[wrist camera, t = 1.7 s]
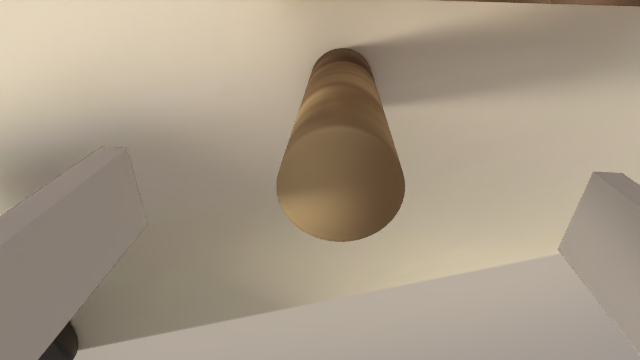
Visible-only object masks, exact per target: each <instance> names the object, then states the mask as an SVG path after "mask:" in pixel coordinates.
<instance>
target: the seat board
mask: <svg viewBox="0 0 640 360" xmlns="http://www.w3.org/2000/svg"><path fill="white" fill-rule="evenodd" d="M442 1H477V2H511V3H546V4H580V5H615V6H640V0H442Z"/></svg>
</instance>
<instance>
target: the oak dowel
mask: <svg viewBox="0 0 640 360" xmlns="http://www.w3.org/2000/svg"><path fill="white" fill-rule="evenodd" d="M404 192H405V181H404V176H403V172H402V168H401V165H400V162H399V159H398V156H397V152H396V149H395V146H394V143H393V139H392V136H391V133H390V130H389V127H388V123H387V120H386V117H385V114H384V110H383V107H382V104H381V101H380V97H379V94H378V91H377V88H376V85H375V81H374V78H373V75H372V72H371V69H370V66H369V64H368V62H367V61H366V60H365V58H364V57H363V56H361V55H360V54H359V53H357V52H355V51H353V50H350V49H343V48H342V49H334V50H331V51H329V52H327V53H325V54H324V55H323V56H321V57H320V58H319V59H318V61H317V62H316V64H315V65H314V67H313V70H312V73H311V76H310V79H309V82H308V85H307V88H306V91H305V94H304V97H303V100H302V103H301V106H300V109H299V112H298V115H297V118H296V121H295V124H294V127H293V130H292V133H291V136H290V139H289V142H288V145H287V148H286V151H285V154H284V157H283V160H282V163H281V166H280V170H279V173H278V177H277V196H278V200H279V203H280V205H281V207H282V209H283V211H284V213H285V214H286V216H287V217H288V218H289V219H290V221H291V222H292V223H293V224H295V225H296V226H297V227H298V228H300V229H301V230H302V231H304V232H306V233H307V234H310V235H312V236H314V237H317V238H320V239H324V240H328V241H338V242H345V241H353V240H358V239H362V238H365V237H368V236H370V235H372V234H374V233H376V232H378V231H379V230H381V229H382V228H384V227H385V226H386V225H387V224H388V223H389V222H390V221H391V220H392V219H393V218H394V217H395V215H396V214H397V212H398V210H399V209H400V207H401V204H402V202H403V198H404Z"/></svg>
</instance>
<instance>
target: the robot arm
mask: <svg viewBox="0 0 640 360" xmlns="http://www.w3.org/2000/svg"><path fill="white" fill-rule="evenodd" d="M146 226H147V221H146V217H145V213H144V210H143V206H142V202H141V198H140V195H139V191H138V187H137V183H136V180H135V176H134V172H133V168H132V165H131V161H130V157H129V153H128V149H127V148H119V147H100V148H99V149H97V150H96V151H95V152H93V153H92V154H90V155H89V156H87V157H86V158H84V159H83V160H82V161H80V162H79V163H77V164H76V165H74V166H73V167H71V168H70V169H68V170H67V171H66V172H64V173H63V174H61V175H60V176H58V177H57V178H55V179H54V180H53V181H51V182H50V183H48V184H47V185H45V186H44V187H42V188H41V189H39V190H38V191H37V192H35V193H34V194H32V195H31V196H29V197H28V198H26V199H25V200H24V201H22V202H21V203H19V204H18V205H16V206H15V207H13V208H12V209H11V210H9V211H8V212H6V213H5V214H3V215H2V216H0V360H73V359H74V357H75V355H76V353H77V349H78V343H77V338H76V335H75V333H74V331H73V329H72V327H71V325H70V324H69V323H68V322H69V321H70V320H71V318H72V317H73V316H74V315H75V313H76V312H77V311H78V310H79V308H80V307H81V306H82V305H83V303H84V302H85V301H86V300H87V298H88V297H89V296H90V295H91V294H92V292H93V291H94V290H95V289H96V287H97V286H98V285H99V284H100V282H101V281H102V280H103V279H104V277H105V276H106V275H107V274H108V273H109V271H110V270H111V269H112V268H113V266H114V265H115V264H116V263H117V261H118V260H119V259H120V258H121V256H122V255H123V254H124V253H125V252H126V250H127V249H128V248H129V247H130V245H131V244H132V243H133V242H134V240H135V239H136V238H137V237H138V235H139V234H140V233H141V232H142V231H143V229H144V228H145V227H146ZM558 250H559V252H560V253H561V254H562V256H563V257H564V258H565V259H566V261H567V262H568V263H569V265H570V266H571V267H572V269H573V270H574V271H575V273H576V274H577V275H578V276H579V278H580V279H581V280H582V282H583V283H584V284H585V285H586V286H587V288H588V289H589V290H590V292H591V293H592V295H593V296H594V297H595V299H596V300H597V301H598V302H599V304H600V305H601V306H602V308H603V309H604V310H605V312H606V313H607V314H608V315H609V317H610V318H611V319H612V321H613V322H614V323H615V325H616V326H617V327H618V328H619V330H620V331H621V332H622V333H623V335H624V336H625V337H626V339H627V340H628V341H629V343H630V344H631V345H632V346H633V348H634V349H635V351H636V352H637V353H638V354H639V356H640V186H639V185H638V184H637V183H635V182H634V181H633V180H631V179H630V178H628V177H627V176H626V175H624V174H623V173H609V172H593V173H592V176H591V178H590V180H589V182H588V184H587V187H586V189H585V191H584V193H583V195H582V198H581V200H580V202H579V204H578V206H577V209H576V211H575V213H574V215H573V217H572V220H571V222H570V224H569V226H568V228H567V231H566V233H565V235H564V237H563V239H562V242H561V244H560V246H559V248H558Z"/></svg>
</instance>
